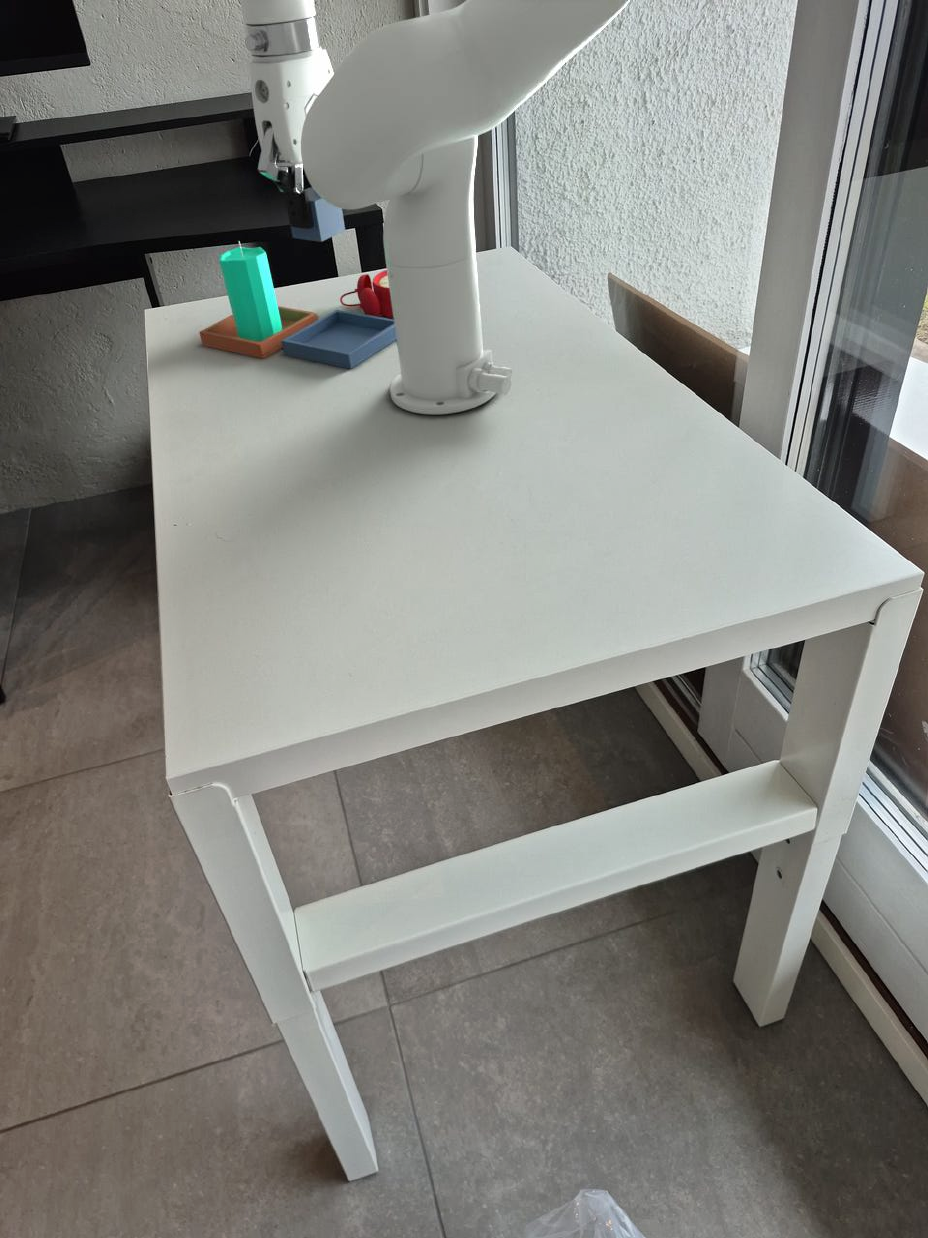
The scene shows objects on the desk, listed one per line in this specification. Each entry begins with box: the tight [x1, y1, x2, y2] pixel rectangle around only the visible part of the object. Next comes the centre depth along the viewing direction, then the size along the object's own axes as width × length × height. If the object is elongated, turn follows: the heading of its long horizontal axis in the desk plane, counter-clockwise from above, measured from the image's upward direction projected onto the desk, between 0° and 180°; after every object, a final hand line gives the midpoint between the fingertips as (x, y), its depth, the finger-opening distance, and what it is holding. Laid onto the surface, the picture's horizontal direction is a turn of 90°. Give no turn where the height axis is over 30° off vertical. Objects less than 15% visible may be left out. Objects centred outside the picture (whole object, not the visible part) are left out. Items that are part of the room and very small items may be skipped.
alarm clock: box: [339, 269, 394, 319], centre depth 124 cm, size 10×6×15 cm
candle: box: [218, 240, 282, 342], centre depth 118 cm, size 6×6×12 cm
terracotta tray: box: [198, 305, 319, 359], centre depth 122 cm, size 11×11×2 cm
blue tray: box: [281, 309, 397, 370], centre depth 117 cm, size 11×11×2 cm
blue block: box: [290, 187, 346, 243], centre depth 107 cm, size 4×4×4 cm
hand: (316, 218), depth 107 cm, fingers closed on blue block, 4 cm apart
